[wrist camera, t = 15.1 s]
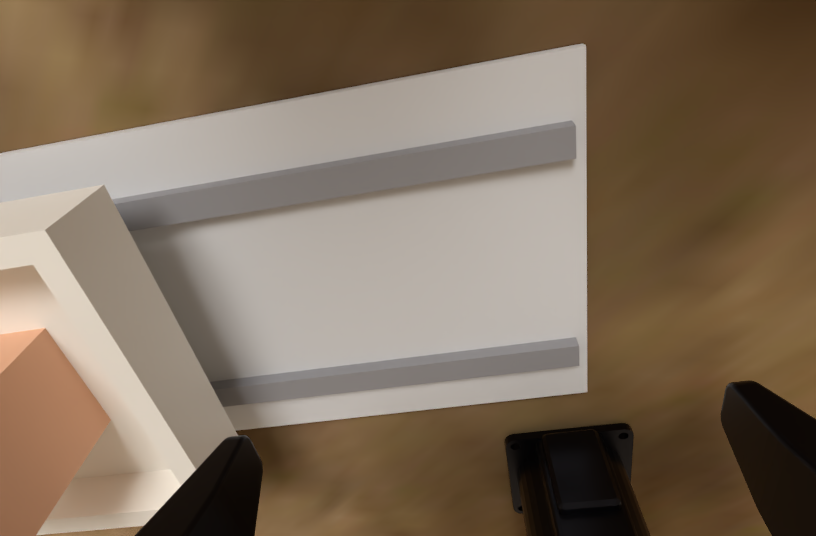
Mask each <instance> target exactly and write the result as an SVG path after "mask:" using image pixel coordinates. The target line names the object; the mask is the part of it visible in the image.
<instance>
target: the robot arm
mask: <svg viewBox="0 0 816 536" xmlns="http://www.w3.org/2000/svg"><path fill="white" fill-rule="evenodd" d="M721 422H722V426H723V428H724V431H725V433H726V435H727V438H728V440H729V443H730V445H731V447H732V450H733V452H734V454H735V457H736V459H737V462H738V464H739V466H740V469H741V471H742V473H743V476H744V478H745V481H746V483H747V485H748V488H749V490H750V492H751V495H752V497H753V499H754V502H755V504H756V506H757V508H758V510H759V512H760V514H761V516H762V518H763V520H764V522H765V524H766V525H767V527H768V529H769V531H770V533H771V534H772V536H816V419H815V418H813V417H812V416H810V415H808V414H807V413H805V412H804V411H802V410H800V409H799V408H797V407H796V406H794V405H792V404H791V403H789V402H788V401H786V400H784V399H783V398H781V397H780V396H778V395H776V394H775V393H773V392H772V391H770V390H768V389H767V388H765V387H764V386H762V385H760V384H759V383H757V382H754V381H740V382H732V383H729V384H728V385H727V386H726V389H725V394H724V400H723V405H722V410H721ZM633 436H634V435H633V432H632V429H631V427H630V426H629V425H628V424H625V423H619V424H609V425H599V426H589V427H580V428H570V429H560V430H550V431H540V432H530V433H521V434H512V435H509V436H508V437H506V439H505V446H506V454H507V461H508V469H509V477H510V484H511V492H512V500H513V507H514V510H515V511H516V512H517V513H523V515H524V521H525V526H526V532H527V536H650V533H649V531H648V528H647V525H646V523H645V520H644V518H643V515H642V512H641V510H640V507H639V504H638V502H637V499H636V496H635V494H634V491H633V488H632V486H631V483H630V481H631V466H632V451H633ZM262 473H263V466H262V461H261V459H260V457H259V455H258V453H257V451H256V449H255V447H254V445H253V443H252V442H251V440H250V438H249V437H248V436H246V435H240V436H231V437H227V438H226V439H224V440H223V441H222V442H221V443H220V444H219V445H218V447H217V448H216V449H215V450H214V451H213V452H212V453H211V454H210V455H209V456H208V457H207V458H206V459H205V461H204V462H203V463H202V464H201V465H200V466H199V467H198V468H197V469H196V470H195V471H194V472H193V473H192V475H191V476H190V477H189V478H188V479H187V480H186V481H185V482H184V483H183V484H182V485H181V486H180V487H179V489H178V490H177V491H176V492H175V493H174V494H173V495H172V496H171V497H170V498H169V499H168V500H167V501H166V503H165V504H164V505H163V506H162V507H161V508H160V509H159V510H158V511H157V512H156V513H155V514H154V515H153V517H152V518H151V519H150V520H149V521H148V522H147V523H146V524H145V525H144V526H143V527H142V528H141V529H140V531H139V532H138V533H137V534H136V535H135V536H254V535H255V527H256V520H257V512H258V504H259V497H260V489H261V481H262Z"/></svg>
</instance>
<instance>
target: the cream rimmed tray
mask: <svg viewBox="0 0 816 536" xmlns="http://www.w3.org/2000/svg"><path fill="white" fill-rule="evenodd" d="M41 328H46V330H47V331H48V332H49V334H50V335H51V337H52V338H53V339H54V341H55V342H56V344H57V345H58V346H59V348H60V349H61V351H62V352H63V353H64V355H65V356H66V358H67V359H68V360H69V362H70V363H71V365H72V366H73V367H74V369H75V370H76V372H77V373H78V374H79V376H80V377H81V379H82V380H83V381H84V383H85V384H86V385H87V387H88V388H89V390H90V391H91V392H92V394H93V395H94V397H95V398H96V399H97V401H98V402H99V404H100V405H101V406H102V408H103V409H104V411H105V412H106V413H107V415H108V416H109V418H110V419H111V421H110V422H109V424H108V425H107V427H106V428H105V430H104V431H103V433H102V435H101V436H100V438H99V439H98V441H97V442H96V444H95V445H94V447H93V448H92V450H91V451H90V453H89V455H88V456H87V458H86V459H85V461H84V462H83V464H82V465H81V467H80V468H79V470H78V471H77V473H76V475H75V476H74V478H73V479H72V481H71V482H70V484H69V485H68V487H67V488H66V490H65V491H64V493H63V495H62V496H61V498H60V499H59V501H58V502H57V504H56V505H55V507H54V508H53V510H52V511H51V513H50V514H49V516H48V518H47V519H46V521H45V522H44V524H43V525H42V527H41V528H40V530H39V531H38V533H37V534H36V535H44V534H55V533H66V532H78V531H89V530H100V529H112V528H123V527H134V526H144V525H145V524H146V523H147V522H148V521H149V520H150V519H151V518H152V517H153V515H154V514H155V513H156V512H157V511H158V510H159V509H160V508H161V507H162V506H163V505H164V504H165V503H166V501H167V500H168V499H169V498H170V497H171V496H172V495H173V494H174V493H175V492H176V491H177V490H178V489H179V487H180V486H181V485H182V484H183V483H184V482H185V481H186V480H187V479H188V478H189V477H190V476H191V475H192V473H193V472H194V471H195V470H196V469H197V468H198V467H199V466H200V465H201V464H202V463H203V462H204V461H205V459H206V458H207V457H208V456H209V455H210V454H211V453H212V452H213V451H214V450H215V449H216V448H217V447H218V445H219V444H220V443H221V442H222V441H223V440H224V439H226V438H227V437H231V436H238V434H237V432H236V431H235V429H234V427H233V425H232V423H231V421H230V419H229V418H228V416H227V414H226V412H225V410H224V408H223V406H222V404H221V403H220V401H219V399H218V397H217V395H216V393H215V391H214V389H213V388H212V386H211V384H210V382H209V380H208V378H207V376H206V374H205V373H204V371H203V369H202V367H201V365H200V363H199V361H198V360H197V358H196V356H195V354H194V352H193V350H192V348H191V346H190V345H189V343H188V341H187V339H186V337H185V335H184V333H183V331H182V330H181V328H180V326H179V324H178V322H177V320H176V318H175V317H174V315H173V313H172V311H171V309H170V307H169V305H168V303H167V302H166V300H165V298H164V296H163V294H162V292H161V290H160V288H159V287H158V285H157V283H156V281H155V279H154V277H153V275H152V273H151V272H150V270H149V268H148V266H147V264H146V262H145V260H144V259H143V257H142V255H141V253H140V251H139V249H138V247H137V245H136V244H135V242H134V240H133V238H132V236H131V234H130V232H129V230H128V229H127V227H126V225H125V223H124V221H123V219H122V217H121V215H120V214H119V212H118V210H117V208H116V206H115V204H114V202H113V201H112V199H111V197H110V195H109V193H108V191H107V189H106V187H105V186H104V185H99V186H93V187H87V188H82V189H76V190H70V191H64V192H59V193H53V194H47V195H42V196H36V197H30V198H25V199H19V200H13V201H8V202H2V203H0V334H7V333H14V332H21V331H27V330H34V329H41Z"/></svg>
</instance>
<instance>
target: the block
mask: <svg viewBox="0 0 816 536" xmlns="http://www.w3.org/2000/svg"><path fill="white" fill-rule="evenodd" d="M110 421H111V419H110V418H109V416H108V415H107V413H106V412H105V411H104V409H103V408H102V406H101V405H100V404H99V402H98V401H97V399H96V398H95V397H94V395H93V394H92V392H91V391H90V390H89V388H88V387H87V385H86V384H85V383H84V381H83V380H82V379H81V377H80V376H79V374H78V373H77V372H76V370H75V369H74V367H73V366H72V365H71V363H70V362H69V360H68V359H67V358H66V356H65V355H64V353H63V352H62V351H61V349H60V348H59V346H58V345H57V344H56V342H55V341H54V339H53V338H52V337H51V335H50V334H49V332H48V331H47V330H46V328H41V329H34V330H27V331H21V332H14V333H7V334H0V536H36V534H37V533H38V531H39V530H40V528H41V527H42V525H43V524H44V522H45V521H46V519H47V518H48V516H49V514H50V513H51V511H52V510H53V508H54V507H55V505H56V504H57V502H58V501H59V499H60V498H61V496H62V495H63V493H64V491H65V490H66V488H67V487H68V485H69V484H70V482H71V481H72V479H73V478H74V476H75V475H76V473H77V471H78V470H79V468H80V467H81V465H82V464H83V462H84V461H85V459H86V458H87V456H88V455H89V453H90V451H91V450H92V448H93V447H94V445H95V444H96V442H97V441H98V439H99V438H100V436H101V435H102V433H103V431H104V430H105V428H106V427H107V425H108V424H109V422H110Z"/></svg>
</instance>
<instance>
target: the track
mask: <svg viewBox="0 0 816 536" xmlns="http://www.w3.org/2000/svg"><path fill="white" fill-rule="evenodd" d="M99 185H104V186H105V187H106V189H107V191H108V193H109V195H110V197H111V199H112V201H113V202H114V204H115V206H116V208H117V210H118V212H119V214H120V215H121V217H122V219H123V221H124V223H125V225H126V227H127V229H128V230H129V232H130V234H131V236H132V238H133V240H134V242H135V244H136V245H137V247H138V249H139V251H140V253H141V255H142V257H143V259H144V260H145V262H146V264H147V266H148V268H149V270H150V272H151V273H152V275H153V277H154V279H155V281H156V283H157V285H158V287H159V288H160V290H161V292H162V294H163V296H164V298H165V300H166V302H167V303H168V305H169V307H170V309H171V311H172V313H173V315H174V317H175V318H176V320H177V322H178V324H179V326H180V328H181V330H182V331H183V333H184V335H185V337H186V339H187V341H188V343H189V345H190V346H191V348H192V350H193V352H194V354H195V356H196V358H197V360H198V361H199V363H200V365H201V367H202V369H203V371H204V373H205V374H206V376H207V378H208V380H209V382H210V384H211V386H212V388H213V389H214V391H215V393H216V395H217V397H218V399H219V401H220V403H221V404H222V406H223V408H224V410H225V412H226V414H227V416H228V418H229V419H230V421H231V423H232V425H233V427H234V429H235V431H237V430H247V429H256V428H265V427H274V426H283V425H292V424H301V423H310V422H320V421H329V420H338V419H347V418H356V417H365V416H374V415H383V414H393V413H402V412H411V411H420V410H429V409H438V408H447V407H456V406H465V405H475V404H484V403H493V402H502V401H511V400H520V399H529V398H538V397H548V396H557V395H566V394H575V393H584V392H587V177H586V45H585V44H583V43H582V44H577V45H571V46H566V47H561V48H556V49H550V50H545V51H540V52H534V53H529V54H524V55H518V56H513V57H508V58H503V59H497V60H492V61H487V62H481V63H476V64H471V65H465V66H460V67H455V68H450V69H444V70H439V71H434V72H428V73H423V74H418V75H412V76H407V77H402V78H397V79H391V80H386V81H381V82H375V83H370V84H365V85H359V86H354V87H349V88H344V89H338V90H333V91H328V92H322V93H317V94H312V95H306V96H301V97H296V98H291V99H285V100H280V101H275V102H269V103H264V104H259V105H253V106H248V107H243V108H238V109H232V110H227V111H222V112H216V113H211V114H206V115H200V116H195V117H190V118H185V119H179V120H174V121H169V122H163V123H158V124H153V125H147V126H142V127H137V128H132V129H126V130H121V131H116V132H110V133H105V134H100V135H94V136H89V137H84V138H79V139H73V140H68V141H63V142H57V143H52V144H47V145H41V146H36V147H31V148H26V149H20V150H15V151H10V152H4V153H0V203H2V202H8V201H13V200H19V199H25V198H30V197H36V196H42V195H47V194H53V193H59V192H64V191H70V190H76V189H82V188H87V187H93V186H99Z"/></svg>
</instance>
